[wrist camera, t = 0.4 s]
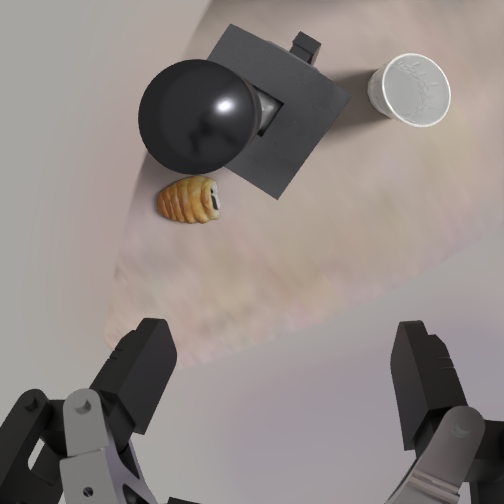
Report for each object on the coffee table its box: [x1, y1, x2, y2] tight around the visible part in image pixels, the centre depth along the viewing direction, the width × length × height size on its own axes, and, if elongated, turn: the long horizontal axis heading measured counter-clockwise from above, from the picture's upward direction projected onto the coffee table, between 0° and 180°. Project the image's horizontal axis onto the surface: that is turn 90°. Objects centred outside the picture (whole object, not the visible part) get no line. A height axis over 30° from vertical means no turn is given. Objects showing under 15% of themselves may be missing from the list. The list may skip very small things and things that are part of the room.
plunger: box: [138, 59, 284, 175], centre depth 15 cm, size 8×8×15 cm
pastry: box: [157, 175, 220, 224], centre depth 43 cm, size 9×7×4 cm
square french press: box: [207, 24, 352, 200], centre depth 28 cm, size 13×10×19 cm
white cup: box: [367, 53, 451, 127], centre depth 29 cm, size 8×8×10 cm
